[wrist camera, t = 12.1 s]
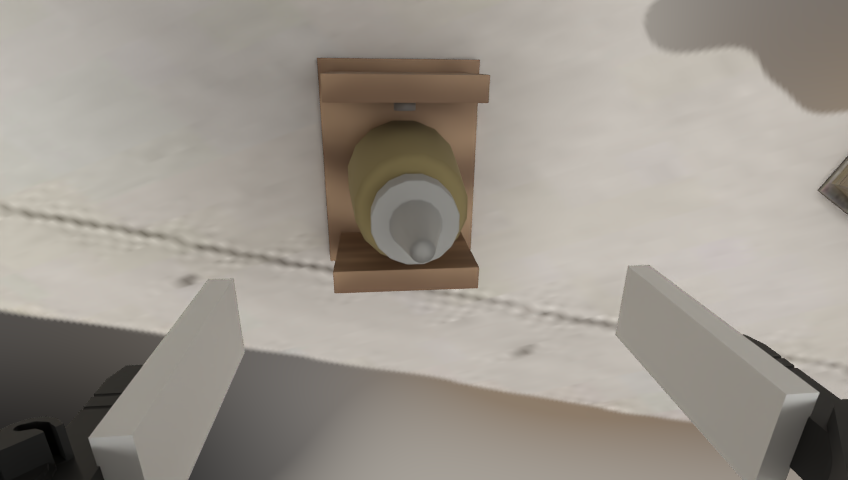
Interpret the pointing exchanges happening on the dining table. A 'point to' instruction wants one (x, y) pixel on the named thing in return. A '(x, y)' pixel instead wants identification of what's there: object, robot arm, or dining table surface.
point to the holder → (376, 105)
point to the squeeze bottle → (407, 192)
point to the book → (837, 187)
